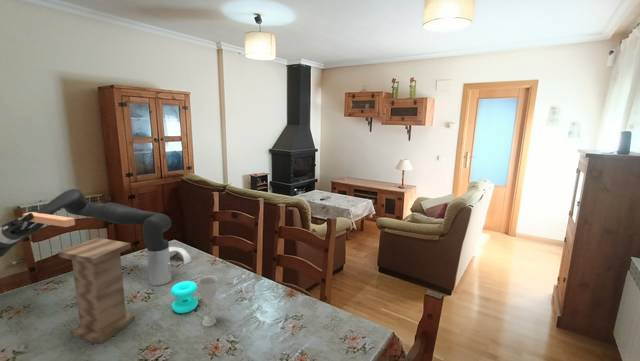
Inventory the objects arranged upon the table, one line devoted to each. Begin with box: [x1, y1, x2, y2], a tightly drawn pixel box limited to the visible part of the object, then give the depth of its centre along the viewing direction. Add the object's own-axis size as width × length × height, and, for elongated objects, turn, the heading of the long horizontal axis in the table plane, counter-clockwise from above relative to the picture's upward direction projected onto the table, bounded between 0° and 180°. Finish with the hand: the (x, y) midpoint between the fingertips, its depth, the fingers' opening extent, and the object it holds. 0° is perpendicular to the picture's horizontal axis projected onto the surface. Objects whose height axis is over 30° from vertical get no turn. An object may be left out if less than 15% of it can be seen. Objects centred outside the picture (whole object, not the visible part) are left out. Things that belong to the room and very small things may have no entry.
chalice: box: [197, 274, 218, 327], centre depth 119 cm, size 7×7×18 cm
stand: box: [57, 237, 136, 345], centre depth 112 cm, size 16×14×32 cm
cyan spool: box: [170, 280, 199, 314], centre depth 128 cm, size 10×10×10 cm
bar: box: [22, 211, 76, 228], centre depth 114 cm, size 22×3×2 cm, turn 74°
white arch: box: [169, 246, 192, 265], centre depth 174 cm, size 24×12×7 cm, turn 64°
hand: (37, 214), depth 115 cm, fingers closed on bar, 3 cm apart
